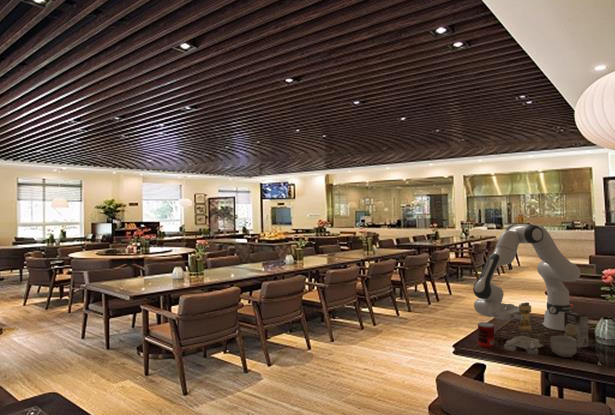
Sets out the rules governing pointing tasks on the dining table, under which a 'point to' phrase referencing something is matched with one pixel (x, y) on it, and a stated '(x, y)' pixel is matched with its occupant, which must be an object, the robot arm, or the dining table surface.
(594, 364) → the dining table surface
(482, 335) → the canned food
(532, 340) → the coupling seat
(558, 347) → the teacup
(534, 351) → the shaft
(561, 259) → the robot arm
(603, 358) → the dining table surface
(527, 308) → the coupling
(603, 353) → the dining table surface
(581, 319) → the coffee box
